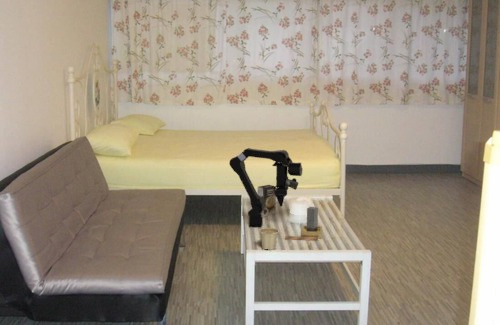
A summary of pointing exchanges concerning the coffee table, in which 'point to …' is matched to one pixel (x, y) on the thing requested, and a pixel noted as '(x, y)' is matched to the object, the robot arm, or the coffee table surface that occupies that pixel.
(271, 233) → the flower pot
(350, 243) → the coffee table surface
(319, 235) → the keeper
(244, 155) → the robot arm
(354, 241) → the coffee table surface
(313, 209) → the bar
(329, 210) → the coffee table surface
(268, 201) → the coffee box
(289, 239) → the door edge strip
